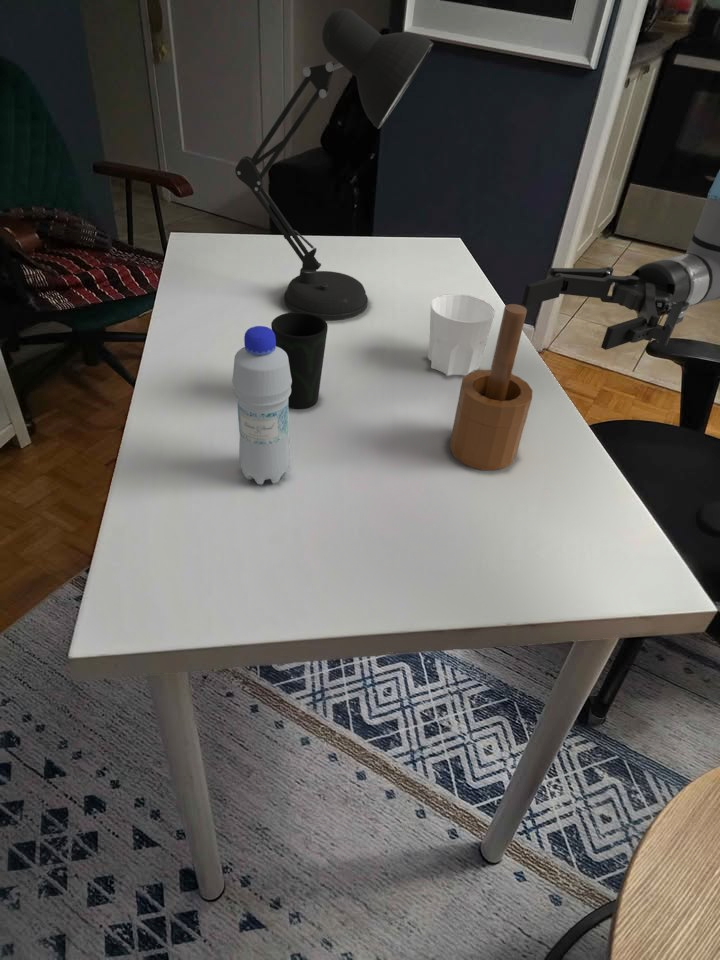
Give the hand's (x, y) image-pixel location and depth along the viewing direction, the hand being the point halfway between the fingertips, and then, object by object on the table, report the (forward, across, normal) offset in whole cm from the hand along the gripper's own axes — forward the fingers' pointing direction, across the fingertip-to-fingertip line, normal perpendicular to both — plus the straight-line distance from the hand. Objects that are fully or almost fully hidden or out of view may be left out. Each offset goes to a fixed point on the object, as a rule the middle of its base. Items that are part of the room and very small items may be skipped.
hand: (563, 316), depth 82 cm
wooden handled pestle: (+9, 0, -17) cm, 20 cm away
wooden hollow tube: (+9, 0, -18) cm, 20 cm away
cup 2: (-2, +20, -18) cm, 27 cm away
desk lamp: (+4, +49, -18) cm, 52 cm away
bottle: (+38, +10, -18) cm, 43 cm away
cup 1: (+25, +23, -18) cm, 39 cm away
